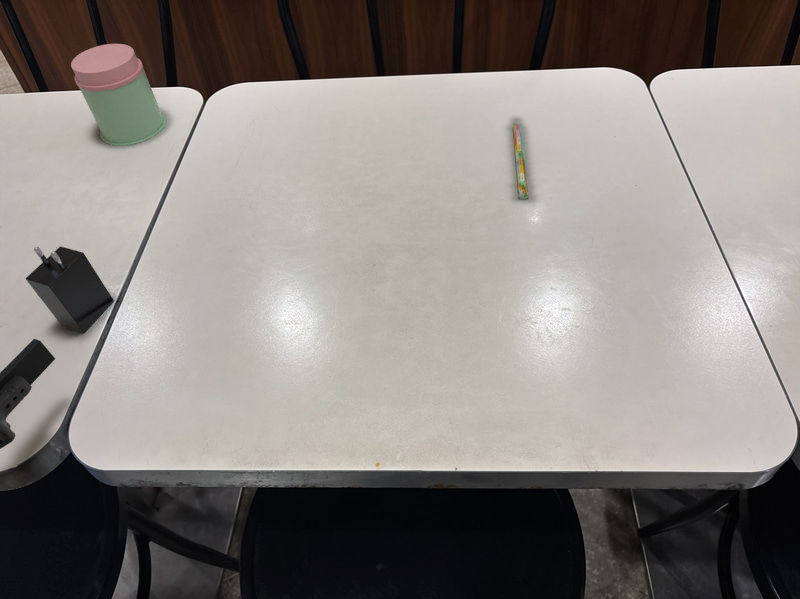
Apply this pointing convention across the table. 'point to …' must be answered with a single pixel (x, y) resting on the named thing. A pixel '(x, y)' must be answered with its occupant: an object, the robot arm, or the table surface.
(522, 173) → the pencil
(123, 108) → the green canister pink lid
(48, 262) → the wall charger plug
